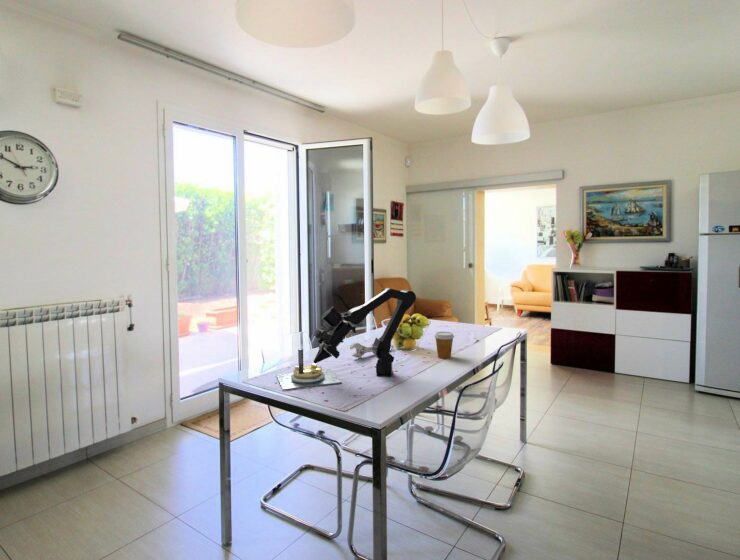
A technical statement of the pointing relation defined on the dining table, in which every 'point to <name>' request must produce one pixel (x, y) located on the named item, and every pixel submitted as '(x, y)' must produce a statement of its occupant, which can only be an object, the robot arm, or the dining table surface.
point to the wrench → (361, 349)
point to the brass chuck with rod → (306, 369)
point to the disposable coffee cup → (444, 344)
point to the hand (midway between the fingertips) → (314, 362)
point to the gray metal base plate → (307, 380)
